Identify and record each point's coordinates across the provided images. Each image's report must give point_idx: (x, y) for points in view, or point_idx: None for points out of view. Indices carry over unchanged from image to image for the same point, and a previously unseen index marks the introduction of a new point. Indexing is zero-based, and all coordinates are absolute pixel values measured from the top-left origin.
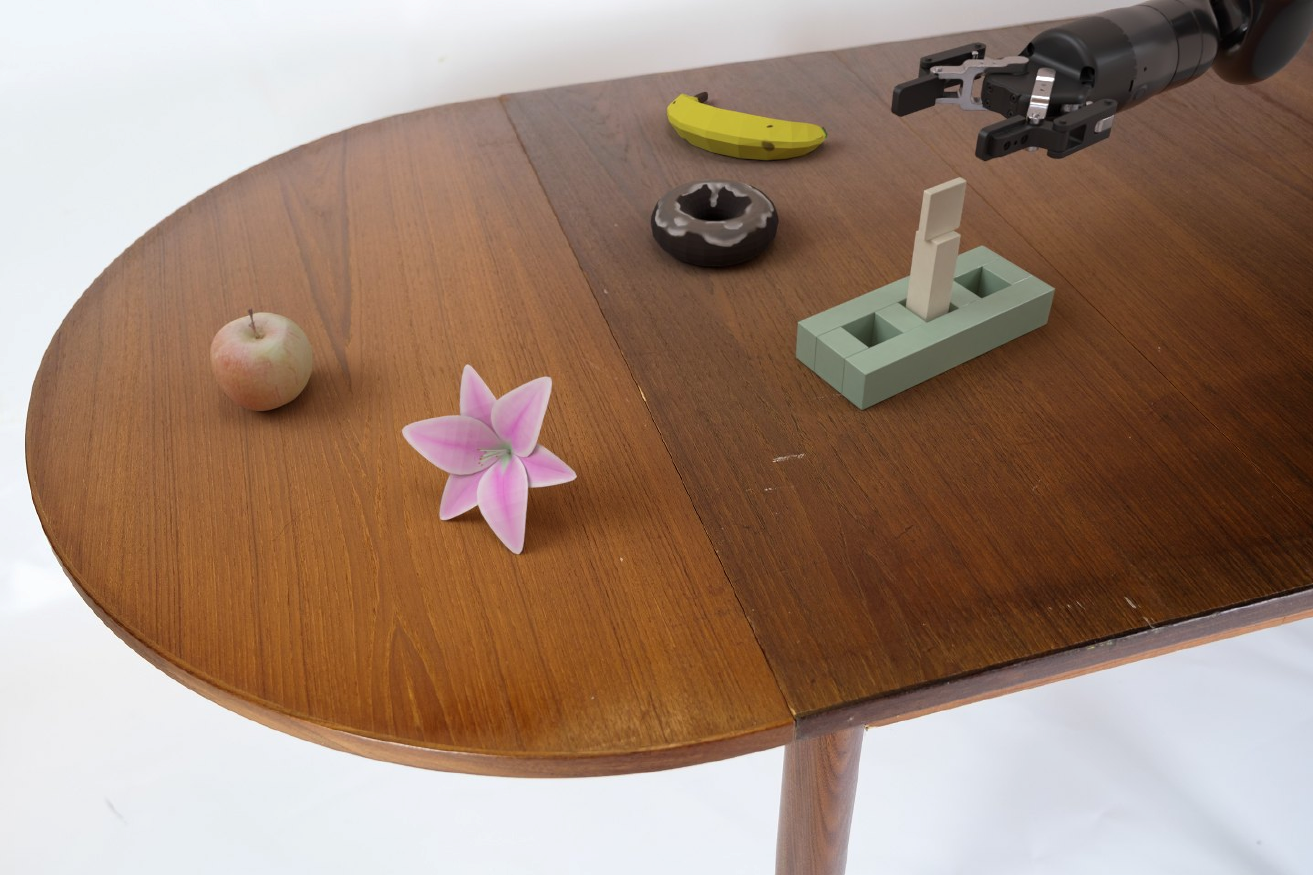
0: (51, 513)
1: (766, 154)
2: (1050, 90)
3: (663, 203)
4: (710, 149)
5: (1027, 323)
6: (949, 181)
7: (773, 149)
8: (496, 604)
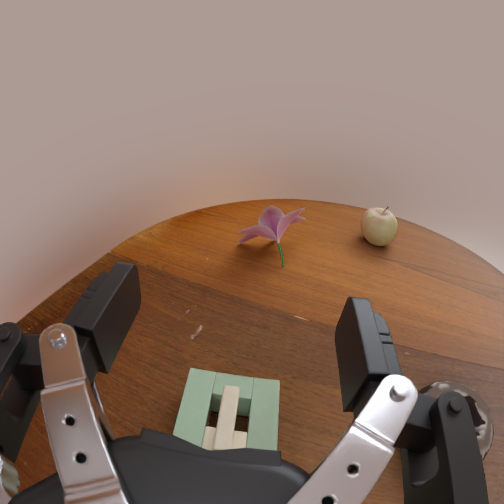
0: (342, 204)
1: None
2: (48, 428)
3: (468, 388)
4: None
5: None
6: (230, 427)
7: None
8: (223, 233)
